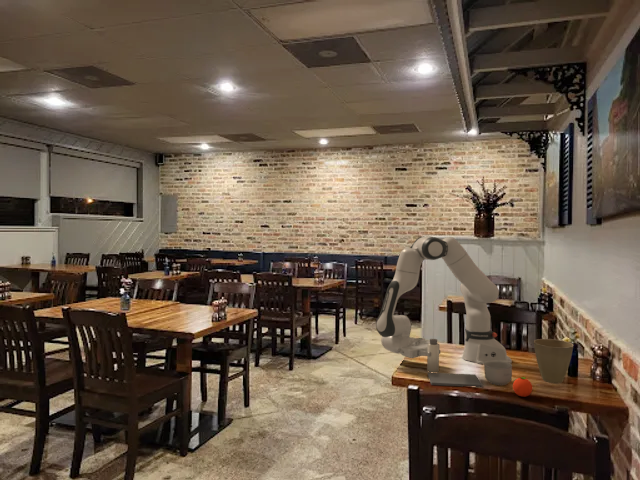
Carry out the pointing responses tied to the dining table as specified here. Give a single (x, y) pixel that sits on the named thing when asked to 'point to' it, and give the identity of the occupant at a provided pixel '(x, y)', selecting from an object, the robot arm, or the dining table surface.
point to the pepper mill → (433, 356)
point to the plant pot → (553, 358)
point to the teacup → (498, 372)
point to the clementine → (522, 387)
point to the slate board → (454, 379)
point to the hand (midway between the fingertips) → (434, 353)
